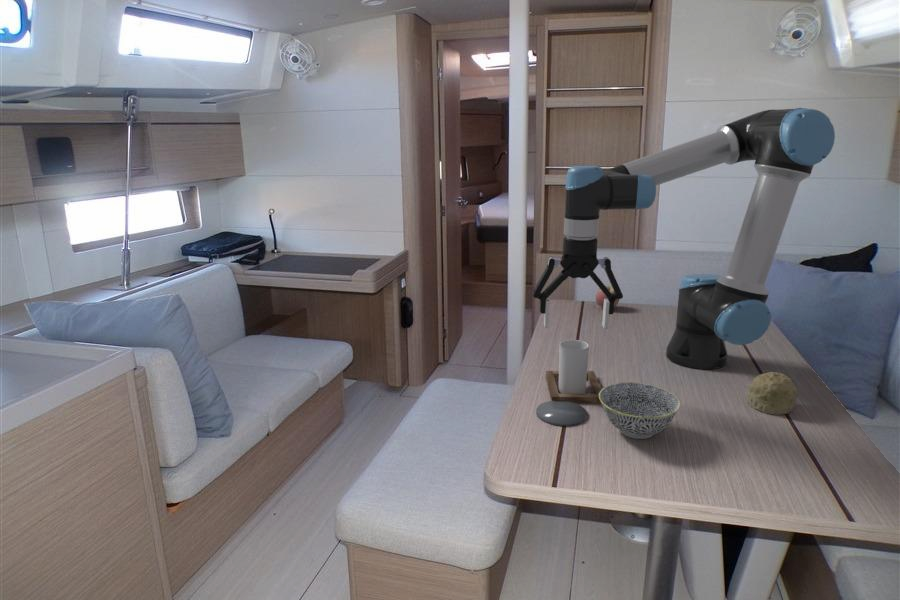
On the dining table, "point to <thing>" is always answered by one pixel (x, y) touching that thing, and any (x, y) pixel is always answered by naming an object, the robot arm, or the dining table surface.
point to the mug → (573, 366)
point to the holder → (573, 397)
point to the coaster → (561, 413)
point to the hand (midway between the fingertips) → (575, 327)
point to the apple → (604, 296)
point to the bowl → (639, 408)
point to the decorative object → (772, 393)
